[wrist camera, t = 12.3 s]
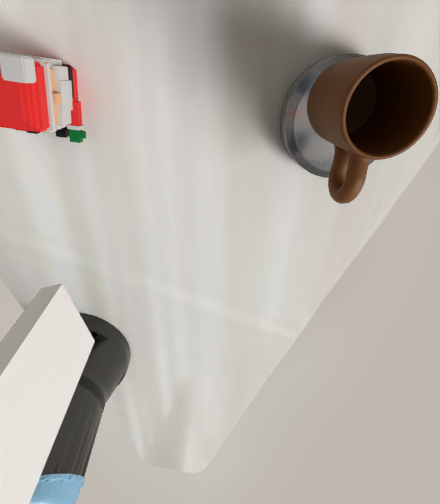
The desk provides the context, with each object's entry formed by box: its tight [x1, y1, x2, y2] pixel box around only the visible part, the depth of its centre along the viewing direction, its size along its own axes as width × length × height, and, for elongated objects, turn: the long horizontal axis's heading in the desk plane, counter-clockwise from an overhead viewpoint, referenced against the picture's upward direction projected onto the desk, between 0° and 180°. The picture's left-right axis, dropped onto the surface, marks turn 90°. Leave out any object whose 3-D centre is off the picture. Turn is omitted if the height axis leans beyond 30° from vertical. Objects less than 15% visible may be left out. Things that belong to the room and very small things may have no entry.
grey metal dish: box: [280, 54, 374, 178], centre depth 35 cm, size 12×12×3 cm
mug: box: [307, 53, 438, 204], centre depth 29 cm, size 12×8×9 cm, turn 168°
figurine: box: [0, 50, 86, 143], centre depth 28 cm, size 8×7×12 cm
